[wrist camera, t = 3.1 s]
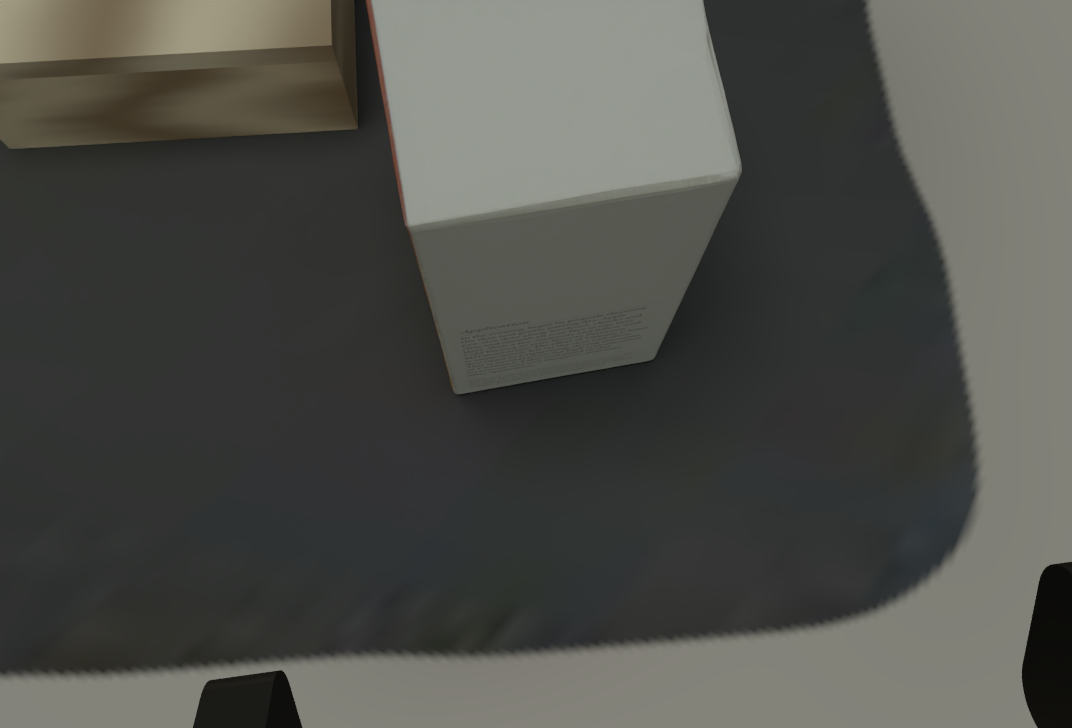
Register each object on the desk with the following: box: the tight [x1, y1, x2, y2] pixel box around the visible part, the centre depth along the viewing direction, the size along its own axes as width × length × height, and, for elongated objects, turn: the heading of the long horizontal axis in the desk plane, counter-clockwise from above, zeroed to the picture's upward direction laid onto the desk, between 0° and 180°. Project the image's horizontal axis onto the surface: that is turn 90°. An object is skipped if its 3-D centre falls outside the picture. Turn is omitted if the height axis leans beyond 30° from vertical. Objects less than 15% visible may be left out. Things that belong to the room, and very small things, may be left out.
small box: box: [366, 0, 742, 394], centre depth 25 cm, size 8×6×13 cm
